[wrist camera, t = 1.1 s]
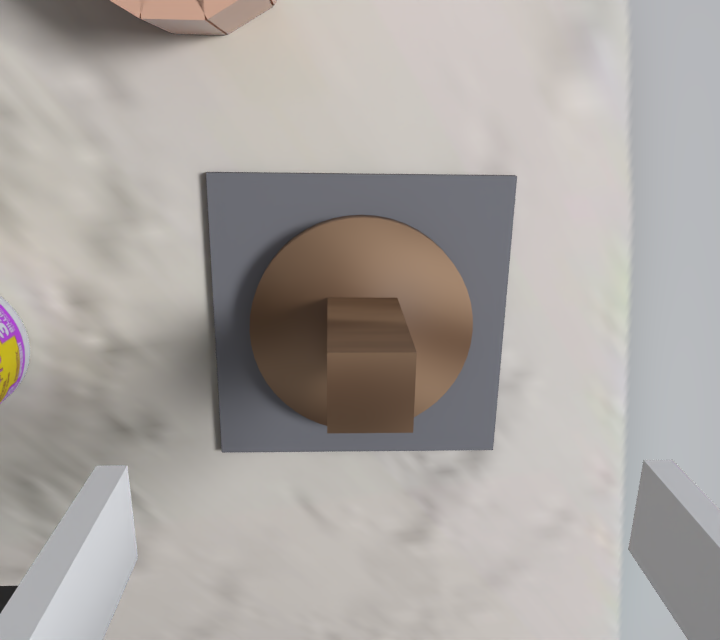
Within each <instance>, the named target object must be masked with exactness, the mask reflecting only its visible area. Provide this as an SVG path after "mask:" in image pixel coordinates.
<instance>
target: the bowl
mask: <svg viewBox="0 0 720 640" xmlns="http://www.w3.org/2000/svg"><path fill="white" fill-rule="evenodd" d="M110 1H112V2H113V3H115V4H116V5H118V6H120V7H121V8H123V9H125V10H126V11H128V12H130V13H131V14H133V15H134V16H136V17H138V18H140V19H142V20H144V21H146V22H148V23H150V24H152V25H155V26H157V27H159V28H161V29H163V30H165V31H168V32H170V33H173V34H201V35H226V33H227V34H230V33H231V32H233V31H235V30H236V29H238V28H240V27H241V26H243V25H244V24H246V23H248V22H249V21H251V20H253V19H254V18H256V17H257V16H259V15H261V14H262V13H264V12H265V11H267V10H269V9H270V8H272V7H273V6H272V4H274V5H275V3H276V1H277V0H110ZM271 3H272V4H271Z"/></svg>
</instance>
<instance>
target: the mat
mask: <svg viewBox="0 0 720 640" xmlns="http://www.w3.org/2000/svg"><path fill="white" fill-rule="evenodd" d="M206 182H207V199H208V217H209V235H210V252H211V270H212V287H213V305H214V323H215V340H216V358H217V376H218V393H219V411H220V428H221V446H222V452H324V451H435V450H493V443H494V432H495V421H496V409H497V398H498V386H499V375H500V364H501V352H502V341H503V330H504V318H505V307H506V295H507V284H508V273H509V261H510V250H511V239H512V227H513V216H514V204H515V193H516V182H517V176H515V175H437V174H347V173H257V172H207V173H206ZM348 215H374V216H381V217H386V218H391V219H394V220H397V221H400V222H402V223H405V224H407V225H409V226H411V227H413V228H415V229H417V230H419V231H420V232H422V233H423V234H425V235H426V236H428V237H429V238H430V239H431V240H433V241H434V242H435V243H436V244H437V245H438V246H439V247H440V248H441V249H442V250H443V251H444V253H445V254H446V255H447V256H448V257H449V259H450V260H451V261H452V263H453V264H454V265H455V267H456V269H457V270H458V272H459V273H460V275H461V277H462V279H463V281H464V283H465V286H466V288H467V291H468V294H469V298H470V301H471V307H472V315H473V332H472V339H471V345H470V349H469V352H468V356H467V359H466V361H465V363H464V365H463V368H462V370H461V372H460V373H459V375H458V377H457V378H456V380H455V382H454V383H453V384H452V386H451V387H450V388H449V389H448V391H447V392H446V393H445V394H444V395H443V396H442V397H441V398H440V399H439V400H438V401H437V402H436V403H435V404H433V405H432V406H431V407H429V408H428V409H427V410H425V411H424V412H422V413H420V414H419V415H417V416H415V417H414V426H413V433H327V426H325V425H322V424H319V423H317V422H314V421H312V420H310V419H308V418H306V417H304V416H302V415H301V414H299V413H297V412H296V411H294V410H293V409H292V408H290V407H289V406H288V405H286V404H285V403H284V402H283V401H282V400H281V399H280V398H279V397H278V396H277V395H276V394H275V393H274V392H273V390H272V389H271V388H270V386H269V385H268V384H267V383H266V381H265V379H264V377H263V376H262V374H261V372H260V370H259V368H258V365H257V363H256V360H255V358H254V354H253V350H252V346H251V340H250V313H251V307H252V302H253V299H254V296H255V293H256V289H257V287H258V284H259V282H260V280H261V278H262V276H263V274H264V271H265V269H266V268H267V266H268V265H269V263H270V262H271V260H272V259H273V257H274V256H275V255H276V254H277V253H278V252H279V251H280V249H281V248H282V247H283V246H284V245H285V244H287V243H288V242H289V241H290V240H291V239H292V238H294V237H295V236H297V235H298V234H300V233H301V232H303V231H304V230H306V229H308V228H310V227H312V226H314V225H316V224H318V223H320V222H323V221H326V220H330V219H333V218H337V217H343V216H348Z"/></svg>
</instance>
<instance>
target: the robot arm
mask: <svg viewBox="0 0 720 640" xmlns="http://www.w3.org/2000/svg"><path fill="white" fill-rule="evenodd" d="M628 549H629V551H630V553H631V554H632V556H633V557H634V559H635V560H636V562H637V563H638V565H639V566H640V568H641V569H642V571H643V572H644V574H645V575H646V577H647V578H648V580H649V581H650V583H651V585H652V586H653V588H654V589H655V590H656V592H657V594H658V595H659V597H660V598H661V600H662V601H663V602H664V604H665V605H666V607H667V609H668V610H669V612H670V613H671V615H672V616H673V618H674V619H675V621H676V622H677V624H678V625H679V627H680V628H681V630H682V631H683V633H684V634H685V636H686V637H687V639H688V640H720V509H719V508H718V507H717V506H716V505H715V504H714V503H713V502H712V501H711V500H710V499H709V497H708V496H707V495H706V494H705V493H704V492H703V491H702V490H701V489H700V488H699V487H698V486H697V485H696V484H695V483H694V482H693V481H692V480H691V479H690V478H689V477H688V475H687V474H686V473H685V472H684V471H683V470H682V469H681V468H680V467H679V466H678V465H677V464H676V463H675V462H674V461H673V460H643V466H642V472H641V478H640V484H639V490H638V496H637V502H636V507H635V513H634V519H633V525H632V531H631V537H630V543H629V548H628ZM137 559H138V553H137V544H136V536H135V527H134V518H133V509H132V501H131V492H130V483H129V475H128V466H127V465H114V466H96V467H95V468H94V470H93V471H92V473H91V475H90V476H89V478H88V479H87V481H86V482H85V484H84V485H83V487H82V488H81V490H80V492H79V493H78V495H77V496H76V498H75V499H74V501H73V502H72V504H71V505H70V507H69V509H68V510H67V512H66V513H65V515H64V516H63V518H62V519H61V521H60V522H59V524H58V525H57V527H56V529H55V530H54V532H53V533H52V535H51V536H50V538H49V539H48V541H47V542H46V544H45V546H44V547H43V549H42V550H41V552H40V553H39V555H38V556H37V558H36V559H35V561H34V563H33V564H32V566H31V567H30V569H29V570H28V572H27V573H26V575H25V576H24V578H23V580H22V581H21V583H20V584H19V586H0V640H103V638H104V636H105V634H106V631H107V629H108V627H109V624H110V622H111V620H112V617H113V615H114V613H115V610H116V608H117V606H118V603H119V601H120V599H121V596H122V594H123V592H124V589H125V587H126V584H127V582H128V580H129V577H130V575H131V573H132V570H133V568H134V566H135V563H136V561H137Z"/></svg>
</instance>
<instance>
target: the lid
mask: <svg viewBox="0 0 720 640" xmlns="http://www.w3.org/2000/svg"><path fill="white" fill-rule="evenodd" d="M472 332H473V315H472V307H471V301H470V298H469V294H468V291H467V288H466V286H465V283H464V281H463V279H462V277H461V275H460V273H459V272H458V270H457V269H456V267H455V265H454V264H453V263H452V261H451V260H450V259H449V257H448V256H447V255H446V254H445V253H444V251H443V250H442V249H441V248H440V247H439V246H438V245H437V244H436V243H435V242H434V241H433V240H431V239H430V238H429V237H428V236H426V235H425V234H423V233H422V232H420V231H419V230H417V229H415V228H413V227H411V226H409V225H407V224H405V223H402V222H400V221H397V220H394V219H391V218H386V217H381V216H374V215H348V216H343V217H337V218H333V219H330V220H326V221H323V222H320V223H318V224H316V225H314V226H312V227H310V228H308V229H306V230H304V231H303V232H301V233H300V234H298V235H297V236H295V237H294V238H292V239H291V240H290V241H289V242H288V243H287V244H285V245H284V246H283V247H282V248H281V249H280V251H279V252H278V253H277V254H276V255H275V256H274V257H273V259H272V260H271V262H270V263H269V265H268V266H267V268H266V269H265V271H264V274H263V276H262V278H261V280H260V282H259V284H258V287H257V289H256V293H255V296H254V299H253V302H252V307H251V313H250V340H251V346H252V350H253V354H254V358H255V360H256V363H257V365H258V368H259V370H260V372H261V374H262V376H263V377H264V379H265V381H266V383H267V384H268V385H269V386H270V388H271V389H272V390H273V392H274V393H275V394H276V395H277V396H278V397H279V398H280V399H281V400H282V401H283V402H284V403H285V404H286V405H288V406H289V407H290V408H292V409H293V410H294V411H296V412H297V413H299V414H301V415H302V416H304V417H306V418H308V419H310V420H312V421H314V422H317V423H319V424H322V425H325V426H327V433H413V426H414V417H415V416H417V415H419V414H420V413H422V412H424V411H425V410H427V409H428V408H429V407H431V406H432V405H433V404H435V403H436V402H437V401H438V400H439V399H440V398H441V397H442V396H443V395H444V394H445V393H446V392H447V391H448V389H449V388H450V387H451V386H452V384H453V383H454V382H455V380H456V378H457V377H458V375H459V373H460V372H461V370H462V368H463V365H464V363H465V361H466V359H467V356H468V352H469V349H470V345H471V339H472Z"/></svg>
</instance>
